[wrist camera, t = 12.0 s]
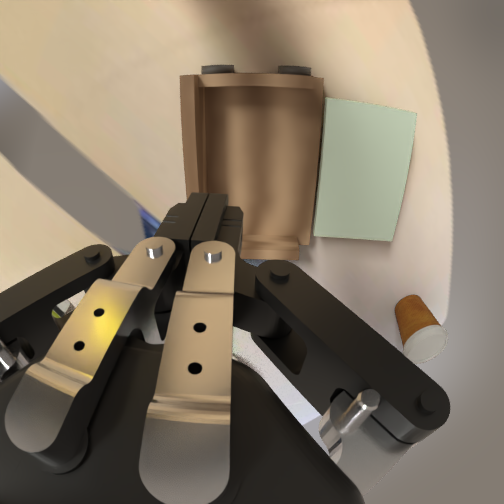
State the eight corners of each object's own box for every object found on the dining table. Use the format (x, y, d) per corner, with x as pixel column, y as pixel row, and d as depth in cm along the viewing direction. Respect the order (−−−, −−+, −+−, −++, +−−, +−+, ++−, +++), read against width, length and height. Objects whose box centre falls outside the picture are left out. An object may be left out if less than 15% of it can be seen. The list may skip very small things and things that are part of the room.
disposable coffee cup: (378, 314, 56) (395, 360, 46) (409, 282, 51) (432, 326, 41) (406, 326, 58) (423, 368, 48) (435, 297, 53) (457, 338, 43)
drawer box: (205, 239, 47) (194, 273, 40) (197, 67, 33) (179, 65, 25) (305, 241, 47) (313, 276, 39) (319, 69, 33) (335, 67, 25)
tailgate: (313, 236, 41) (391, 241, 40) (327, 98, 31) (417, 113, 30) (312, 228, 43) (387, 234, 42) (324, 97, 33) (410, 111, 32)
